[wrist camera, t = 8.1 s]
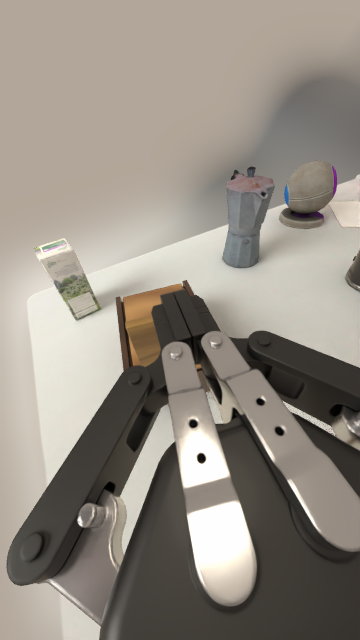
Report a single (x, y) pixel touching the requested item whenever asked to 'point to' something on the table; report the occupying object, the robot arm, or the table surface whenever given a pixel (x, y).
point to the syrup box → (68, 277)
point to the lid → (144, 325)
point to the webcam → (308, 194)
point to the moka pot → (246, 217)
